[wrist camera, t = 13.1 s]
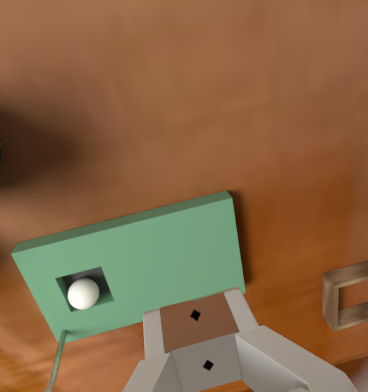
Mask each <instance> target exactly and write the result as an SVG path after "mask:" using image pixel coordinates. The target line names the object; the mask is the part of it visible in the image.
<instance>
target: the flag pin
mask: <svg viewBox="0 0 368 392" xmlns="http://www.w3.org/2000/svg"><path fill="white" fill-rule="evenodd" d="M66 336H67V330H62V332H61V335H60V339H59V343H58V347H57V351H56V354H55V358H54V362H53V366H52V370H51V374H50V377H49V381H48V385H47V389H46V392H53V390H54V386H55V382H56V378H57V374H58V370H59V365H60V361H61V357H62V353H63V349H64V345H65V340H66Z"/></svg>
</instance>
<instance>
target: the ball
mask: <svg viewBox="0 0 368 392" xmlns="http://www.w3.org/2000/svg"><path fill="white" fill-rule="evenodd" d="M98 297H99V288H98V286H97V284H96V283H95V282H94V281H93V280H91V279H88V278H82V279H79V280H77V281H75V282H74V283H73V284H72V285H71V286H70V288H69V291H68V300H69V302H70V304H71V305H72V306H73V307H74V308H77V309H81V310H83V309H88V308H90V307H91V306H93V305H94V304H95V303H96V301H97V299H98Z"/></svg>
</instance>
